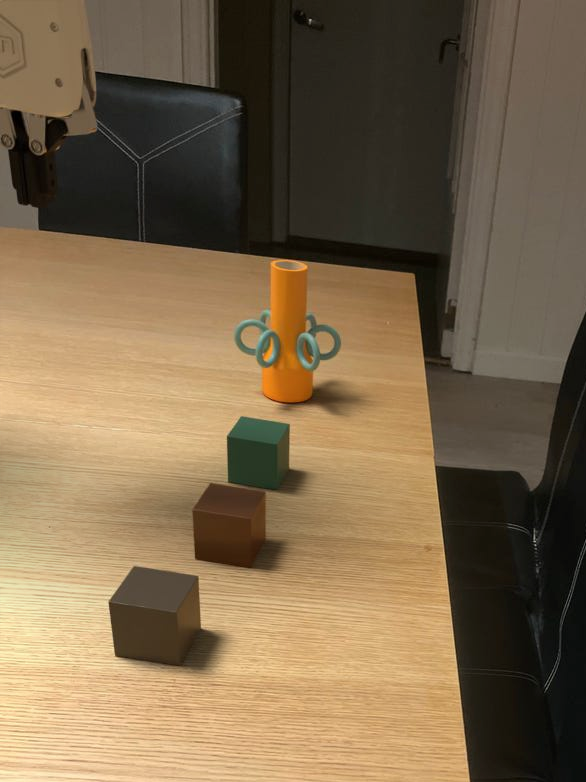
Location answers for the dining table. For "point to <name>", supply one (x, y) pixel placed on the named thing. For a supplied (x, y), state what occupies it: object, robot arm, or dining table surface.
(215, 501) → the walnut block
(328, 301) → the dining table surface
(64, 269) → the dining table surface
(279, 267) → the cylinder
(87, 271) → the dining table surface
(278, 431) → the teal block
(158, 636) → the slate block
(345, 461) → the dining table surface
